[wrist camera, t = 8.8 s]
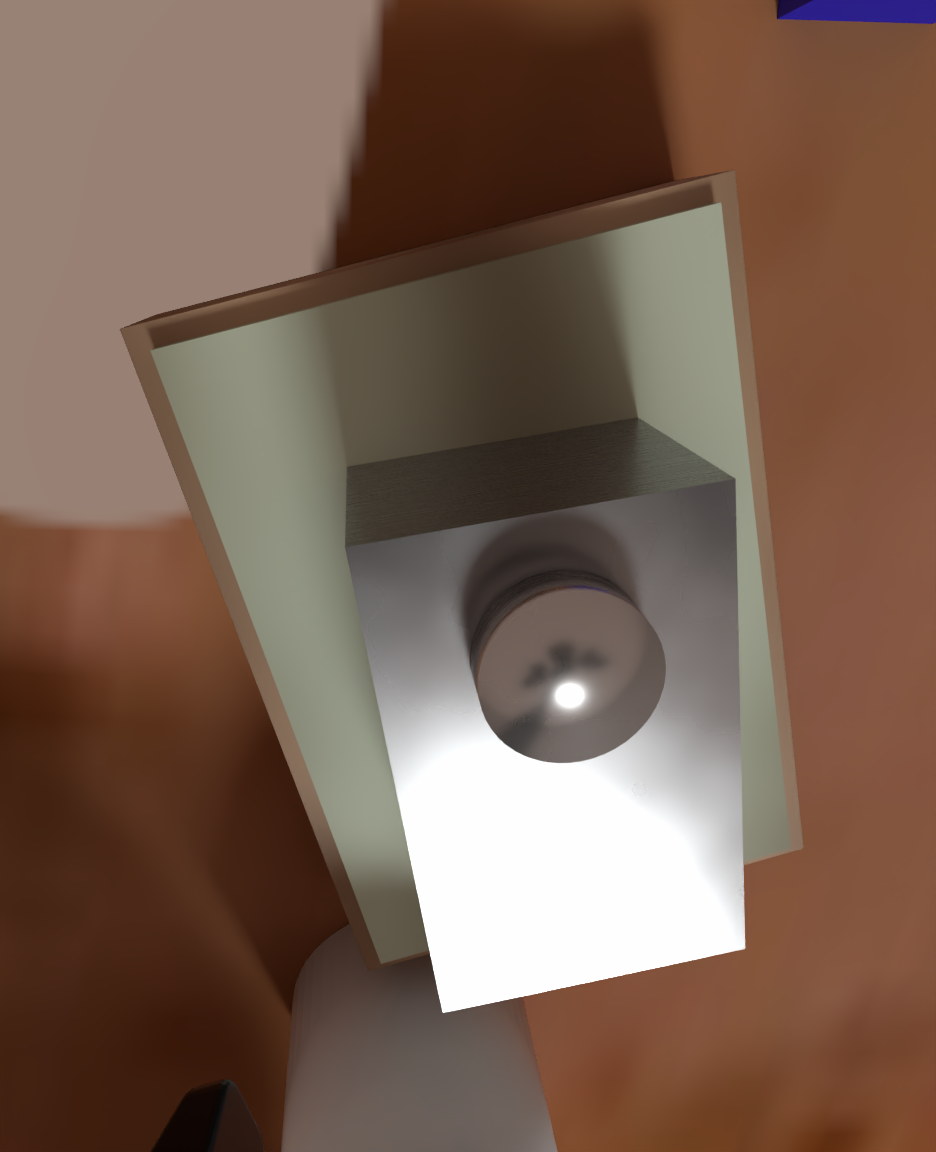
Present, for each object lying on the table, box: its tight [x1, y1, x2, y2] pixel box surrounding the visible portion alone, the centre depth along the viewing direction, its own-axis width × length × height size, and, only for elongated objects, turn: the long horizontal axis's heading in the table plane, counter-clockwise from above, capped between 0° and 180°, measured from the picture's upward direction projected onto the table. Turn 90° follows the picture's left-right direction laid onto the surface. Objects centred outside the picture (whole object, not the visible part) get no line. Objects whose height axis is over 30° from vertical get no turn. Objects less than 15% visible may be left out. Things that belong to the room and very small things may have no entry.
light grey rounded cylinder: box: [281, 924, 557, 1152], centre depth 19 cm, size 6×6×7 cm
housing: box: [345, 417, 745, 1013], centre depth 14 cm, size 5×8×5 cm, turn 8°
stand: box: [120, 170, 803, 971], centre depth 17 cm, size 10×14×3 cm
